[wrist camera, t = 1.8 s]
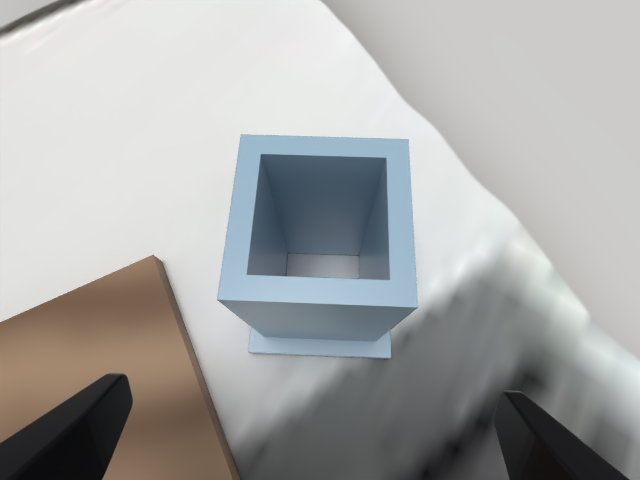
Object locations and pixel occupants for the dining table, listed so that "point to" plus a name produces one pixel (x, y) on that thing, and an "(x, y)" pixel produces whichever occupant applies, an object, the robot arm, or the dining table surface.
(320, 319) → the light blue square holder
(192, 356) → the locating plate
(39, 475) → the robot arm
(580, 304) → the dining table surface
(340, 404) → the dining table surface
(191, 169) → the dining table surface
